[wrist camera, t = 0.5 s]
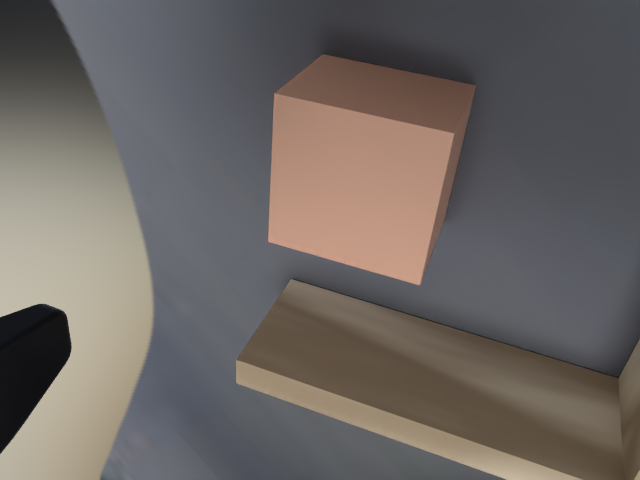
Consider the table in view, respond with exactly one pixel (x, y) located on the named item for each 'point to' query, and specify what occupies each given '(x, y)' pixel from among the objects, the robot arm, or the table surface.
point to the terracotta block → (365, 163)
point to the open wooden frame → (446, 389)
